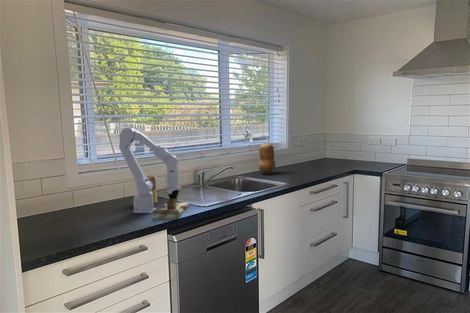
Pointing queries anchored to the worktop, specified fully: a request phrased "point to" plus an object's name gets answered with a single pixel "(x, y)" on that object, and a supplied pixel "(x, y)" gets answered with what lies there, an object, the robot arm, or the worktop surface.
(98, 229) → the worktop surface
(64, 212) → the worktop surface
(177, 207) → the trap runway
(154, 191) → the candy box
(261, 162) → the butternut squash
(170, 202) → the walnut block
